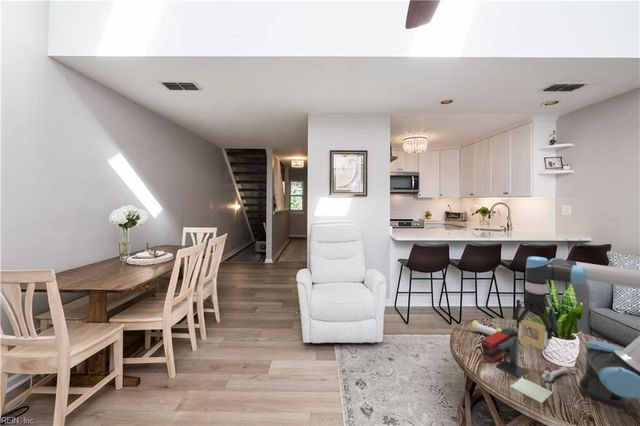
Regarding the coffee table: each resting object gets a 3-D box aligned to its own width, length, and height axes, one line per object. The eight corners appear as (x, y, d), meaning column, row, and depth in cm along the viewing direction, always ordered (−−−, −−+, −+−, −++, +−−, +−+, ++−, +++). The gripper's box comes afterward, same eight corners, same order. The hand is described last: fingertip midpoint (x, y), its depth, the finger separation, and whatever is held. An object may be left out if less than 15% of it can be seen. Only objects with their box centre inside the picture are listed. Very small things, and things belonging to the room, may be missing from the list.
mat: (552, 393, 123) (552, 392, 123) (541, 403, 116) (541, 402, 116) (522, 378, 133) (522, 377, 133) (510, 387, 127) (510, 386, 127)
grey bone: (539, 379, 132) (548, 384, 129) (540, 368, 132) (549, 373, 129) (561, 375, 139) (570, 379, 135) (562, 365, 139) (571, 369, 136)
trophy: (470, 320, 179) (524, 338, 155) (475, 317, 184) (529, 335, 160) (469, 332, 180) (524, 353, 156) (475, 329, 184) (529, 348, 160)
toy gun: (521, 352, 154) (518, 328, 152) (492, 370, 146) (489, 345, 144) (511, 347, 159) (508, 324, 157) (483, 365, 151) (480, 340, 149)
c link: (546, 348, 121) (547, 326, 120) (544, 350, 119) (545, 327, 119) (522, 339, 128) (523, 318, 128) (520, 340, 127) (521, 319, 126)
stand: (526, 372, 138) (527, 341, 137) (510, 384, 129) (511, 350, 128) (504, 362, 146) (505, 332, 145) (488, 372, 137) (489, 341, 136)
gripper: (570, 297, 115) (567, 349, 116) (512, 283, 134) (510, 328, 135) (563, 300, 111) (560, 354, 112) (504, 286, 130) (502, 332, 131)
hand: (533, 340), depth 124 cm, fingers closed on c link, 9 cm apart
